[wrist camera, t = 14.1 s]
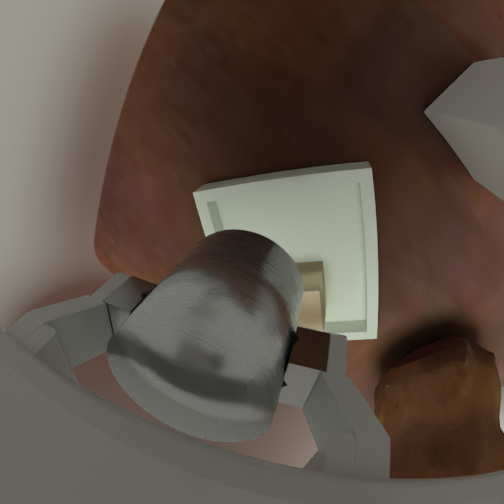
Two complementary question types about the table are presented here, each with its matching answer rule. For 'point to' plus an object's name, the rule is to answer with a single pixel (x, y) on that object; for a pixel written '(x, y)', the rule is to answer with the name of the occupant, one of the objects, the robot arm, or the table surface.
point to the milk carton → (475, 121)
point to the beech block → (313, 295)
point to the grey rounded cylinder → (213, 338)
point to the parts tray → (311, 230)
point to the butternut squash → (442, 411)
